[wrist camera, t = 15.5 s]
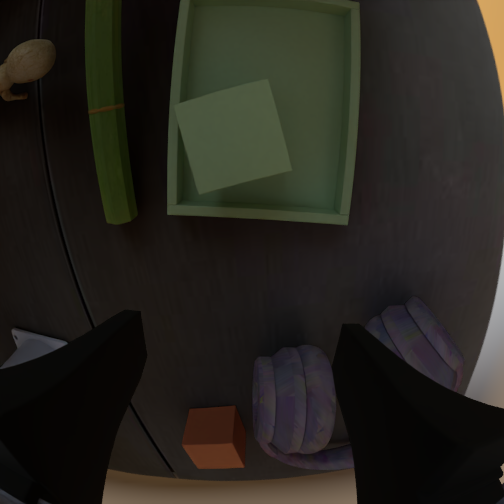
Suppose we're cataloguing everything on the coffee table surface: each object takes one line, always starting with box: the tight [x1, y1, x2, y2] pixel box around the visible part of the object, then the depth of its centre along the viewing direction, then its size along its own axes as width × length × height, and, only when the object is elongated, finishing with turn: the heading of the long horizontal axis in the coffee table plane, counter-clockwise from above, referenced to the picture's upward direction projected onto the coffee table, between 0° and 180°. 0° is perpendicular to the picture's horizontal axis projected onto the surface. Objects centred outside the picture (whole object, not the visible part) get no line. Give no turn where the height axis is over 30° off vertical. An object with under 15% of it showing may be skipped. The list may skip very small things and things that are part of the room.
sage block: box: [174, 79, 293, 195], centre depth 15 cm, size 4×4×4 cm
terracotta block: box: [182, 405, 246, 469], centre depth 24 cm, size 4×4×4 cm
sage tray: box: [167, 0, 361, 225], centre depth 16 cm, size 14×11×2 cm
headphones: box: [252, 296, 465, 470], centre depth 22 cm, size 18×8×20 cm
